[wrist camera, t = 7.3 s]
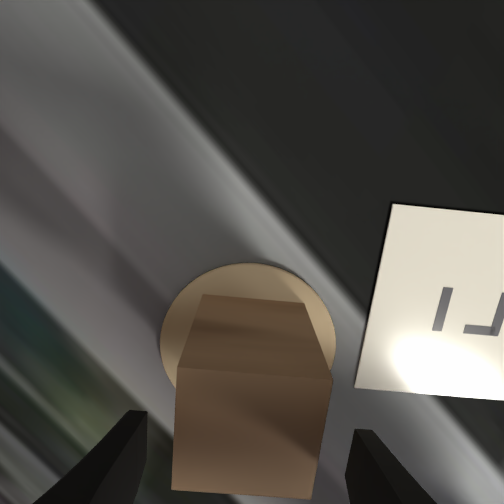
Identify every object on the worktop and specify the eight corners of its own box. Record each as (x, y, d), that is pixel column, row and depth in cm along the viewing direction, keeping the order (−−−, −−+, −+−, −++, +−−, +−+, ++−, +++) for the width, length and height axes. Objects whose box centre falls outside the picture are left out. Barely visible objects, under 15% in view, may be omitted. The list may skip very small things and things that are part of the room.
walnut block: (291, 389, 18) (310, 499, 12) (197, 381, 18) (171, 489, 12) (304, 303, 17) (333, 379, 11) (202, 293, 16) (176, 367, 11)
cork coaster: (319, 422, 19) (321, 428, 18) (159, 409, 19) (157, 415, 18) (347, 271, 17) (350, 274, 16) (164, 254, 16) (162, 256, 16)
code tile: (531, 401, 19) (533, 403, 18) (353, 386, 18) (354, 388, 18) (598, 224, 16) (600, 225, 16) (392, 203, 16) (393, 204, 16)
